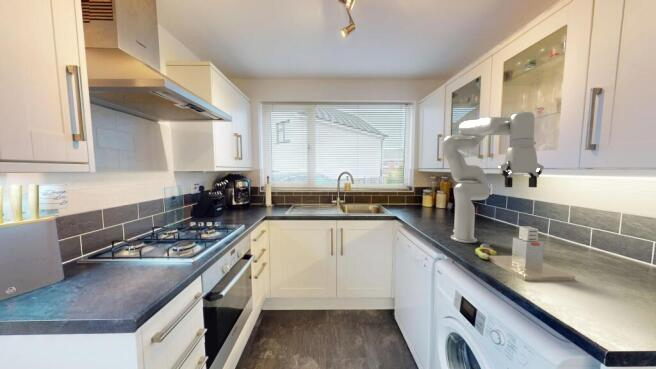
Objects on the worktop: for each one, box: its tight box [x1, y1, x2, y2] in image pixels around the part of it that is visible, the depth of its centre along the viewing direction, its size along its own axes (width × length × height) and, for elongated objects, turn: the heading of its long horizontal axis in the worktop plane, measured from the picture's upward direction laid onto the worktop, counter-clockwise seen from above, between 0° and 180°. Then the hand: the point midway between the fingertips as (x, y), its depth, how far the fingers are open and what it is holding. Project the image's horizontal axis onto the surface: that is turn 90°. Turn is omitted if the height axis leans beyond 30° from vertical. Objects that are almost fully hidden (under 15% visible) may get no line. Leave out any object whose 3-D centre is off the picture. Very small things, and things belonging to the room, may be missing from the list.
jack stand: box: [486, 237, 576, 282], centre depth 94 cm, size 20×18×12 cm
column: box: [518, 225, 539, 242], centre depth 94 cm, size 4×4×15 cm
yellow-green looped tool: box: [474, 242, 497, 260], centre depth 112 cm, size 8×3×25 cm
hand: (520, 187), depth 96 cm, fingers open, 9 cm apart
